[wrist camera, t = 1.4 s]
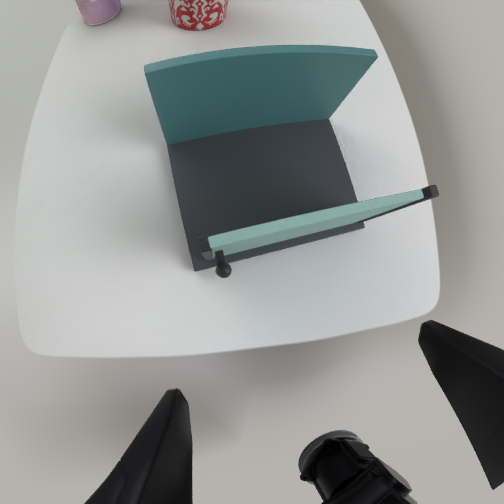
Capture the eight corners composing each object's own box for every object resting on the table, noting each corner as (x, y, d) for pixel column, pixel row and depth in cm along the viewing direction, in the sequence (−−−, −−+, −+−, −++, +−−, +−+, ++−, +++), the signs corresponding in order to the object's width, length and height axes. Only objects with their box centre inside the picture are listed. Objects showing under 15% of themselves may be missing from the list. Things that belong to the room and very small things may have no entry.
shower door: (356, 239, 27) (431, 222, 16) (210, 278, 25) (208, 283, 14) (350, 216, 27) (421, 187, 16) (203, 252, 25) (197, 237, 14)
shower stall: (360, 229, 29) (442, 204, 16) (195, 271, 26) (179, 270, 14) (323, 117, 29) (375, 49, 17) (167, 143, 27) (143, 65, 14)
